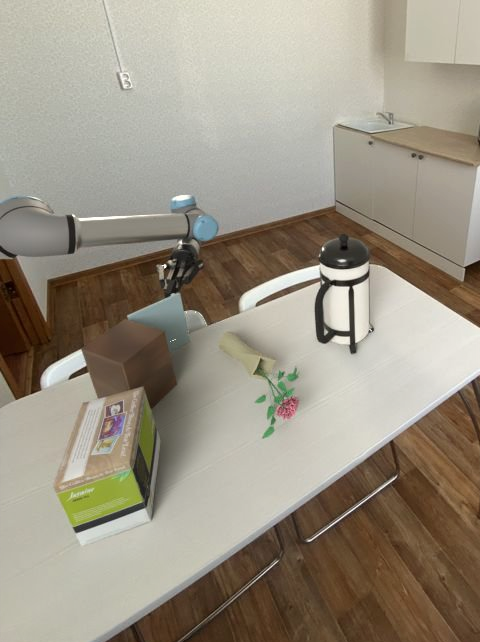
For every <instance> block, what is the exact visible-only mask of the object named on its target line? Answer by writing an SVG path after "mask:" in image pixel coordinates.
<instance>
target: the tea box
mask: <svg viewBox="0 0 480 642" xmlns="http://www.w3.org/2000/svg"><path fill="white" fill-rule="evenodd" d="M161 443H162V442H161V437H160V434H159V431H158V428H157V425H156V422H155V419H154V415H153V412H152V409H150V406H149V402H148V399H147V396H146V393H145V390H144V387H139V388H136V389H132V390H129V391H125V392H122V393H118V394H114V395H111V396H107V397H104V398H100V399H98V398H96V399H93V400H89V401H86V402H85V401H84V402H82V404H81V407H80V409H79V412H78V413H77V417H76V420H75V423H74V425H73V428H72V431H71V434H70V437H69V440H68V443H67V446H66V448H65V450H64V453H63V457H62V459H61V461H60V464H59V468H58V470H57V474H56V476H55V480H54V482H53V486H52V488H53V490H54V493H55V495H56V496H57V499H58V501H59V503H60V505H61V506H62V509H63V511H64V513H65V515H66V517H67V518H68V521H69V524H70V526H71V527H72V530H73V531H74V534H75V536H76V538H77V540H78V542H79V544H80V546H81V547H84V546H87V545H90V544H93V543H95V542H98V541H101V540H104V539H106V538H110V537H112V536H116V535H117V534H120V533H123V532H126V531H128V530H131V529H134V528H136V527H139V526H141V525H144V524H147V523H149V522H151V521H152V516H153V507H154V499H155V492H156V484H157V475H158V468H159V460H160V451H161Z"/></svg>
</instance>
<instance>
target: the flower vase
mask: <svg viewBox="0 0 480 642" xmlns="http://www.w3.org/2000/svg"><path fill="white" fill-rule="evenodd" d="M217 345H218V349H219V350H221V352H224V353H225V354H228V355H229V356H231V357H232V358H234V359H237V360H238V361H239V362H240V363H241V364H242V366H243V367H244V369H245V371H246V372H247V374H248V376H249V377H251V378H254V379H255V378H256V379H259V380H263V381H267V383H268V388H269V390H270V391H271V394H269V396H270V397H269V398H270V399H269V400H270V401H272V396H273V402H274V404H278V405H279V406H277V407H276V405H274V406H273V405H272V403H270V404H271V405H269V406H268V407H267V412H266V420H267V421H268V420H270V424H269V425H270V426H268V428H267V429H266V430H265V432H264V433H263V435H262V438H261V439H266V438H269V437H270V436H272V435H273V434H274V432H275V428H274V424H275V423H276V422H277V419H276V418H275V416H276V417H281V418H282V420H283V421H285V420H287V421H288V420H291V419H292V418H293V417H294V416H295V414H296V412H297V409H298V407H299V402H300V398H299V397H298V396H297V397H296V396H294V391H295V387H292V388H289V389H287V385H286V383H288V382H290V383H292V382H294V381H296V380H297V379H299V378H300V376H299V374H300V372H301V371H298V367H297V366H295V367H294V370H293V373H288V374H287V375H286V376H284V375H285V374H286V371H281V369H279V370H278V373H275V374H273V373H271V372H272V369H273V367H274V364H275V362H276V359H273V358H272V357H269V356H267V355H265V354H264V353H262V352H259V351H257V350H255V349H253V348H251V347H249V346H248V345H247V344H246V343H245V342H244V341H243V340H242V339H241V338H240V337H239V336H238V335H237V334H235V333H234V332H233V331H227V332H224V333H223V334H222V335H221V336H220V337H219V340H218V343H217ZM297 372H298V373H297ZM270 375H272V376H273V377H272V378H271V380H270V379H269V376H270ZM275 375H277V376H275ZM273 378H274V379H275V380H276V381H277V382H278V383H277V384H276V385H275V384H274V383H273V382H272V380H273ZM282 378H286V379H284V380H282ZM273 388H274V390H275V391H276V392H277V394H278V395H275V393H274V390H273ZM280 391H281V392H283V393H282V394H281V392H280ZM271 395H272V396H271ZM267 396H268V393H266V394H265V393H264V394H263V395H261V396H259V397H258V398H257V399H256V400H255V401H254V404H262V403H264V402H266V400H267ZM275 407H276V408H275ZM275 413H276V414H275ZM270 418H271V419H270Z"/></svg>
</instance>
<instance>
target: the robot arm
mask: <svg viewBox="0 0 480 642" xmlns="http://www.w3.org/2000/svg"><path fill="white" fill-rule="evenodd" d="M169 202H170V203H169V204H170V212H171V213H161V214H142V215H124V216H123V215H122V216H121V215H120V216H103V217H102V216H101V217H100V216H99V217H83V218H82V217H81V218H79V217H77V216H76V215H75V214H56V213H55V212H54V210H53V209H52V208H51V207H50V205H49V204H48V203H46V202H45V201H44V200H42V199H40V198H39V197H35V196H31V195H15V196H9V197H8V198H5V199H3V200H2V201H0V260H13V259H15V258H17V257H18V256H20V257H26V258H41V257H54V256H56V257H57V256H64V255H74V254H76V253H77V252H79V251H80V250H83V249H93V248H104V247H112V246H114V247H115V246H125V245H133V244H134V245H135V244H144V243H153V242H155V243H156V242H164V241H165V242H166V241H172V240H173V241H174V240H175V241H176V240H177V241H176V243H175V244H174V247H173V249H172V251H171V254H170V255H169V259H168V261H166V263H165V264H163V265H162V264H157V265H156V270H157V274H158V280H159V285H160V289H163V293H164V299H165V298H168V297H170V296H171V294H173V293H175V294H177V293H180V291H181V289H182V287H183V285H186V286H189V285H190V284H191V283H192V282H193V280H194V279H195V277H196V276H197V274H198V273H199V272H200V271H201V270H202V269H204V268H205V265H204V260H203V259H198V257H199V254H200V251H201V248H202V245H203V242H208V241H211V240H213V239H214V238H215V237H216V236H217V235H218V233H219V228H220V225H219V222H218V221H217V219H216V218H214V217H213V216H212V215H211V214H208V213H207V212H205V211H204V210H202V209H200V208H199V207H198V206H197V202H196V198H195V196H193V195H192V194H182V195H178V196H174V197H173V198H171V200H170V201H169ZM167 270H168V271H169V272H168V274H167V276H166V273H167V272H166V271H167Z"/></svg>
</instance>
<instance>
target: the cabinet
mask: <svg viewBox="0 0 480 642" xmlns="http://www.w3.org/2000/svg"><path fill="white" fill-rule="evenodd" d="M80 351H81V352H82V356H83V359H84V361H85V365H86V368H87V371H88V374H89V377H90V380H91V383H92V385H93V388H94V392H95V395H96V397H97V398H96V399H100V398H104V397H107V396H111V395H114V394H118V393H122V392H125V391H129V390H132V389H136V388H139V387H144V390H145V393H146V396H147V399H148V402H149V406H150V409H151V410H152V409H154V407H155V406H157V404H159V403H160V401H162V400H163V399H164V398H165V397H166V396H167V395H168V394H169V393H170V392H171V391H172V390H173V389H174V388H175V387H176V386H177V385H178V382H177V378H176V373H175V370H174V365H173V361H172V360H173V359H172V356H171V352H169V348H168V343H167V339H166V335H165V331H162V330H159V329H156V328H153V327H149V326H146V325H143V324H140V323H136V322H133V321H130V320H128V318H123V319H122V320H121V321H120V322H117V323H116V324H114V325H113V326H112V327H111V328H108V330H106V331H104V332H103V333H102V334H100V335H99V336H97V337H96V338H94V339H93V340H91V341H90V342H88V343H86V344H85V345H83V346H82V347H81V348H80Z"/></svg>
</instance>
